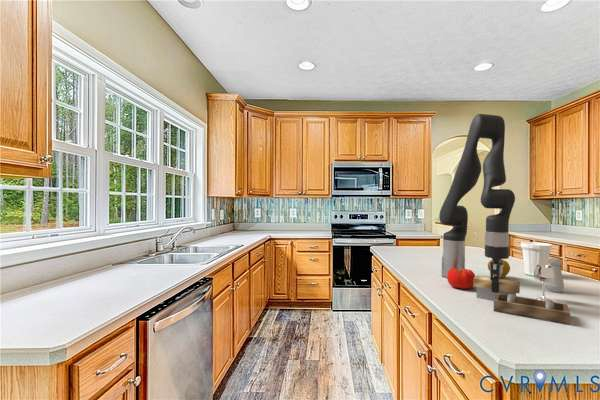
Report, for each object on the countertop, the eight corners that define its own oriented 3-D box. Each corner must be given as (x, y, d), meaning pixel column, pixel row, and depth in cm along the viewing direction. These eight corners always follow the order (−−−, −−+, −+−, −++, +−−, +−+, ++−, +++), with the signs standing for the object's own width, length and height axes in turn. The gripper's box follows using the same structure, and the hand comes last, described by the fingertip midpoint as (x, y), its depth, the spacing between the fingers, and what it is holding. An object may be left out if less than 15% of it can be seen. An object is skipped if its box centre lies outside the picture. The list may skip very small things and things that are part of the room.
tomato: (447, 289, 129) (448, 270, 129) (446, 282, 140) (446, 265, 140) (477, 292, 126) (478, 273, 125) (474, 285, 136) (474, 267, 136)
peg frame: (493, 311, 104) (493, 297, 104) (496, 303, 113) (496, 290, 112) (570, 325, 93) (570, 309, 93) (566, 315, 101) (567, 300, 101)
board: (473, 286, 119) (473, 278, 119) (475, 283, 123) (475, 275, 123) (519, 293, 111) (519, 284, 111) (519, 290, 115) (519, 281, 115)
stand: (476, 297, 119) (476, 286, 119) (477, 294, 122) (478, 284, 122) (515, 304, 112) (515, 292, 112) (516, 301, 115) (516, 289, 115)
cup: (558, 278, 149) (559, 245, 149) (531, 278, 149) (532, 245, 149) (539, 272, 162) (539, 241, 161) (514, 272, 162) (514, 241, 162)
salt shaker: (567, 293, 125) (568, 260, 125) (550, 292, 126) (551, 259, 126) (558, 289, 131) (559, 257, 131) (542, 288, 132) (543, 256, 132)
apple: (488, 274, 156) (488, 255, 156) (510, 277, 151) (510, 258, 151) (486, 278, 149) (486, 258, 149) (509, 281, 143) (509, 261, 143)
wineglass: (549, 297, 119) (550, 265, 119) (556, 302, 114) (556, 268, 114) (531, 296, 121) (531, 264, 121) (537, 300, 116) (537, 267, 116)
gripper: (487, 241, 125) (486, 284, 125) (482, 245, 113) (481, 292, 113) (510, 243, 120) (509, 287, 120) (507, 247, 109) (507, 296, 109)
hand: (496, 289), depth 117 cm, fingers open, 7 cm apart
